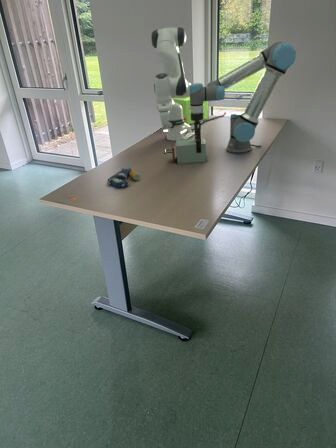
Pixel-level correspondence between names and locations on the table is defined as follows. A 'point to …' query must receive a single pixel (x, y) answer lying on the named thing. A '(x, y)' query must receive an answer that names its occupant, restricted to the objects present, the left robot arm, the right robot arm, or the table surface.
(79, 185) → the table surface
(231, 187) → the table surface
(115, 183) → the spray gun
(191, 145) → the green drawer cabinet
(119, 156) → the table surface
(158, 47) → the left robot arm
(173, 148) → the drawer
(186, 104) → the lime green box
